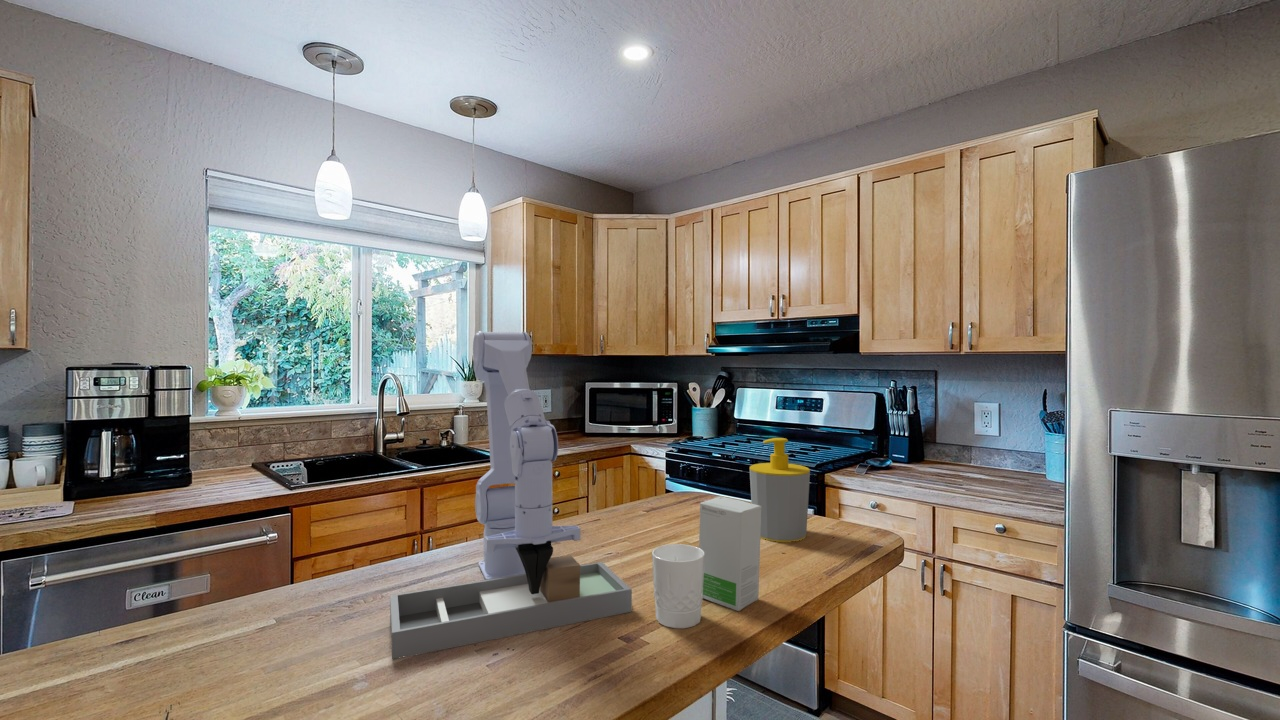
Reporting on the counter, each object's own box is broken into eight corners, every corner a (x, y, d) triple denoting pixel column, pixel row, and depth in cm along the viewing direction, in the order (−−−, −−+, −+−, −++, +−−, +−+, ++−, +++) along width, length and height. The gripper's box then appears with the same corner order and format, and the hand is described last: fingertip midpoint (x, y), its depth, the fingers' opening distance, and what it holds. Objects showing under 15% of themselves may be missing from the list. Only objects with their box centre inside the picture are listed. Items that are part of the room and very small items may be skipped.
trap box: (390, 618, 87) (390, 595, 87) (602, 581, 101) (602, 561, 101) (392, 659, 75) (392, 632, 75) (631, 611, 89) (631, 589, 89)
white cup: (702, 633, 82) (702, 563, 82) (647, 628, 84) (647, 559, 84) (706, 609, 90) (706, 545, 90) (657, 605, 91) (656, 542, 91)
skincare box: (696, 597, 94) (696, 502, 94) (719, 585, 99) (719, 495, 99) (740, 612, 89) (740, 511, 89) (762, 599, 94) (762, 503, 94)
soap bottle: (742, 526, 134) (742, 435, 134) (796, 524, 135) (796, 434, 135) (760, 544, 121) (760, 443, 121) (819, 542, 122) (819, 442, 122)
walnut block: (540, 590, 92) (540, 558, 92) (570, 585, 94) (570, 555, 94) (548, 602, 88) (548, 569, 88) (579, 597, 90) (580, 565, 90)
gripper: (490, 515, 83) (490, 610, 83) (586, 504, 89) (586, 593, 89) (482, 504, 89) (482, 591, 89) (572, 494, 95) (573, 577, 95)
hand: (534, 591), depth 89 cm, fingers closed
